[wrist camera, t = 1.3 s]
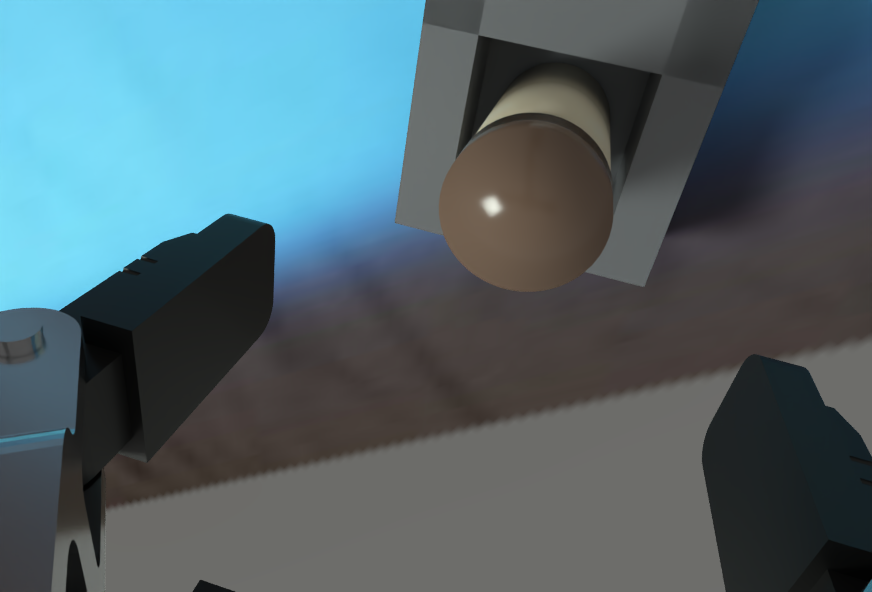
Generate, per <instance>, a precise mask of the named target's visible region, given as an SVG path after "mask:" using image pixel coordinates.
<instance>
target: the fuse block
mask: <svg viewBox="0 0 872 592" xmlns="http://www.w3.org/2000/svg"><path fill="white" fill-rule="evenodd" d="M758 1H759V0H426V3H425V10H424V17H423V24H422V31H421V39H420V46H419V53H418V60H417V67H416V74H415V82H414V89H413V96H412V103H411V110H410V117H409V125H408V132H407V139H406V146H405V153H404V160H403V167H402V175H401V182H400V189H399V196H398V203H397V210H396V218H395V223H397V224H401V225H405V226H409V227H413V228H417V229H420V230H424V231H428V232H432V233H436V234H440V235H443V231H442V228H441V224H440V218H439V198H440V192H441V188H442V184H443V182H444V179H445V177H446V175H447V173H448V171H449V169H450V168H451V166H452V164H453V163H454V162H455V160H456V159H457V157H458V156H459V154H460V153H461V151H462V150H463V149H464V147H465V146H466V145H467V143H468V142H469V141H470V139H471V138H472V137H473V136H474V135H475V134H476V133H477V132H478V130H479V129H480V127H481V126H482V124H483V123H484V121H485V120H486V118H487V117H488V115H489V114H490V113H491V111H492V110H493V108H494V107H495V105H496V104H497V102H498V101H499V99H500V98H501V96H502V95H503V94H504V92H505V91H506V89H507V88H508V86H509V85H510V84H511V83H512V82H513V81H514V80H515V79H516V78H517V77H518V76H519V75H520V74H522V73H523V72H525V71H526V70H528V69H530V68H532V67H535V66H537V65H541V64H544V63H566V64H570V65H574V66H576V67H579V68H581V69H583V70H584V71H586V72H587V73H589V74H590V75H591V76H592V77H594V78H595V80H596V81H597V82H598V83H599V84H600V86H601V87H602V89H603V90H604V93H605V95H606V97H607V100H608V103H609V108H610V149H611V175H612V181H613V223H612V229H611V233H610V236H609V239H608V241H607V244H606V246H605V248H604V250H603V251H602V253H601V254H600V256H599V257H598V259H597V260H596V261H595V262H594V264H593V265H592V266H591V267H590V268H588V269H587V270H586V271H585V272H587V273H591V274H595V275H599V276H603V277H607V278H611V279H615V280H619V281H622V282H626V283H630V284H634V285H638V286H642V287H644V286H645V283H646V281H647V278H648V276H649V273H650V271H651V268H652V266H653V263H654V261H655V258H656V256H657V253H658V251H659V248H660V246H661V243H662V241H663V238H664V236H665V233H666V231H667V228H668V226H669V223H670V221H671V218H672V216H673V213H674V211H675V208H676V206H677V203H678V201H679V198H680V196H681V193H682V191H683V188H684V186H685V183H686V181H687V178H688V176H689V174H690V171H691V169H692V166H693V164H694V161H695V159H696V156H697V154H698V151H699V149H700V146H701V144H702V141H703V139H704V136H705V134H706V131H707V129H708V126H709V124H710V121H711V119H712V116H713V114H714V111H715V109H716V106H717V104H718V101H719V99H720V96H721V94H722V91H723V89H724V86H725V84H726V81H727V79H728V76H729V74H730V71H731V69H732V66H733V64H734V61H735V59H736V56H737V54H738V51H739V49H740V46H741V44H742V41H743V39H744V36H745V34H746V31H747V29H748V26H749V24H750V21H751V19H752V16H753V14H754V11H755V9H756V6H757V4H758Z"/></svg>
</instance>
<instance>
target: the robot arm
mask: <svg viewBox="0 0 872 592" xmlns="http://www.w3.org/2000/svg"><path fill="white" fill-rule="evenodd" d="M274 260H275V233H274V229H273V227H272V226H271V225H270V224H267V223H263V222H259V221H256V220H252V219H248V218H244V217H240V216H237V215H233V214H225V215H224V216H222V217H221V218H219V219H218V220H216V221H215V222H213V223H212V224H211V225H209V226H208V227H206V228H205V229H203V230H202V231H201V232H199V233H198V234H195V233H190V234H187V235H183V236H180V237H177V238H174V239H171V240H167V241H164V242H162V243H160V244H159V245H157V246H156V247H154V248H153V249H151V250H150V251H148V252H147V253H145V254H144V255H142V256H141V259H140V260H139V259H136V260H135V261H133V262H132V263H130V264H129V265H127V266H126V267H124V269H123V272H121V271H118V272H117V273H115V274H114V275H112V276H111V277H109V278H108V279H106V280H105V281H103V282H102V283H100V284H99V285H97V286H96V287H94V288H93V289H91V290H90V291H88V292H87V293H85V294H84V295H82V296H81V297H79V298H78V299H76V300H75V301H73V302H72V303H70V304H68V305H67V306H65V307H64V308H62V309H61V310H59V311H56V310H52V309H46V308H20V309H12V310H7V311H1V312H0V592H105V523H106V522H105V521H106V478H105V471H104V466H105V465H106V464H107V463H108V462H109V461H110V460H111V459H112V458H113V457H114V456H115V455H116V454H117V453H118V454H121V455H124V456H128V457H131V458H134V459H137V460H140V461H143V462H146V463H147V462H148V461H149V460H150V459H151V458H152V457H153V456H154V455H155V453H156V452H157V451H158V450H159V449H160V448H161V447H162V446H163V444H164V443H165V442H166V441H167V440H168V439H169V438H170V437H171V435H172V434H173V433H174V432H175V431H176V430H177V429H178V428H179V426H180V425H181V424H182V423H183V422H184V421H185V420H186V419H187V418H188V416H189V415H190V414H191V413H192V412H193V411H194V410H195V409H196V407H197V406H198V405H199V404H200V403H201V402H202V401H203V400H204V398H205V397H206V396H207V395H208V394H209V393H210V392H211V391H212V390H213V388H214V387H215V386H216V385H217V384H218V383H219V382H220V381H221V379H222V378H223V377H224V376H225V375H226V374H227V373H228V372H229V370H230V369H231V368H232V367H233V366H234V365H235V364H236V363H237V361H238V360H239V359H240V358H241V357H242V356H243V355H244V354H245V353H246V351H247V350H248V349H249V348H250V347H251V346H252V345H253V344H254V342H255V341H256V340H257V339H258V338H259V337H260V336H261V334H262V333H263V331H264V330H265V328H266V326H267V324H268V321H269V319H270V315H271V312H272V307H273V292H274ZM702 464H703V470H704V476H705V481H706V487H707V492H708V497H709V503H710V508H711V514H712V519H713V524H714V530H715V535H716V541H717V546H718V551H719V557H720V562H721V568H722V573H723V578H724V584H725V590H726V592H872V456H871V455H870V453H869V451H868V449H867V447H866V445H865V443H864V441H863V439H862V437H861V435H859V433H858V432H857V431H856V430H855V429H854V428H853V427H852V426H851V425H850V424H849V423H848V422H847V421H846V420H845V419H844V418H843V417H842V416H841V415H840V414H839V413H838V412H837V411H836V410H835V409H834V408H831V407H828V406H825V404H824V402H823V400H822V398H821V396H820V394H819V392H818V390H817V387H816V385H815V383H814V381H813V379H812V377H811V375H810V373H809V371H808V370H807V369H806V368H804V367H802V366H798V365H794V364H790V363H786V362H783V361H779V360H775V359H771V358H768V357H764V356H760V355H756V354H753V355H751V356H749V357H748V358H747V359H746V360H745V361H744V363H743V364H742V366H741V368H740V370H739V371H738V373H737V375H736V377H735V379H734V381H733V383H732V384H731V386H730V388H729V390H728V392H727V394H726V396H725V398H724V399H723V401H722V403H721V405H720V407H719V409H718V410H717V413H716V414H715V416H714V418H713V420H712V422H711V424H710V426H709V428H708V430H707V433H706V436H705V440H704V444H703V451H702ZM193 592H235V591H231V590H229V589H226V588H223V587H220V586H217V585H214V584H211V583H208V582H206V581H203V580H200V581H199V583H198V584H197V586H196V587H195V589H194V590H193Z"/></svg>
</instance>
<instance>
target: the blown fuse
mask: <svg viewBox="0 0 872 592" xmlns="http://www.w3.org/2000/svg"><path fill="white" fill-rule="evenodd" d="M439 218H440V224H441V228H442V231H443V235H444V237H445V239H446V242H447V244H448V246H449V247H450V249H451V251H452V252H453V254H454V255H455V256H456V258H457V259H458V260H459V261H460V262H461V263H462V264H463V265H464V266H465V267H466V268H467V269H468V270H469V271H470V272H472V273H473V274H474V275H475V276H477V277H479V278H480V279H482V280H484V281H486V282H488V283H490V284H492V285H495V286H498V287H501V288H504V289H508V290H513V291H523V292H535V291H543V290H548V289H552V288H556V287H559V286H561V285H564V284H566V283H568V282H570V281H572V280H574V279H576V278H577V277H579V276H580V275H581V274H583V273H584V272H585V271H586V270H587V269H588V268H590V267H591V266H592V265H593V264H594V262H595V261H596V260H597V259H598V257H599V256H600V254H601V253H602V251H603V250H604V248H605V246H606V244H607V241H608V239H609V236H610V233H611V229H612V223H613V181H612V175H611V149H610V108H609V103H608V100H607V97H606V95H605V93H604V90H603V89H602V87H601V86H600V84H599V83H598V82H597V81H596V80H595V78H594V77H592V76H591V75H590V74H589V73H587V72H586V71H584V70H583V69H581V68H579V67H576V66H574V65H570V64H566V63H544V64H541V65H537V66H535V67H532V68H530V69H528V70H526V71H525V72H523V73H522V74H520V75H519V76H518V77H517V78H516V79H515V80H514V81H513V82H512V83H511V84H510V85H509V86H508V88H507V89H506V91H505V92H504V94H503V95H502V96H501V98H500V99H499V101H498V102H497V104H496V105H495V107H494V108H493V110H492V111H491V113H490V114H489V115H488V117H487V118H486V120H485V121H484V123H483V124H482V126H481V127H480V129H479V130H478V132H477V133H476V134H475V135H474V136H473V137H472V138H471V139H470V141H469V142H468V143H467V145H466V146H465V147H464V149H463V150H462V151H461V153H460V154H459V156H458V157H457V159H456V160H455V162H454V163H453V164H452V166H451V168H450V169H449V171H448V173H447V175H446V177H445V179H444V182H443V184H442V188H441V192H440V198H439Z"/></svg>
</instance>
